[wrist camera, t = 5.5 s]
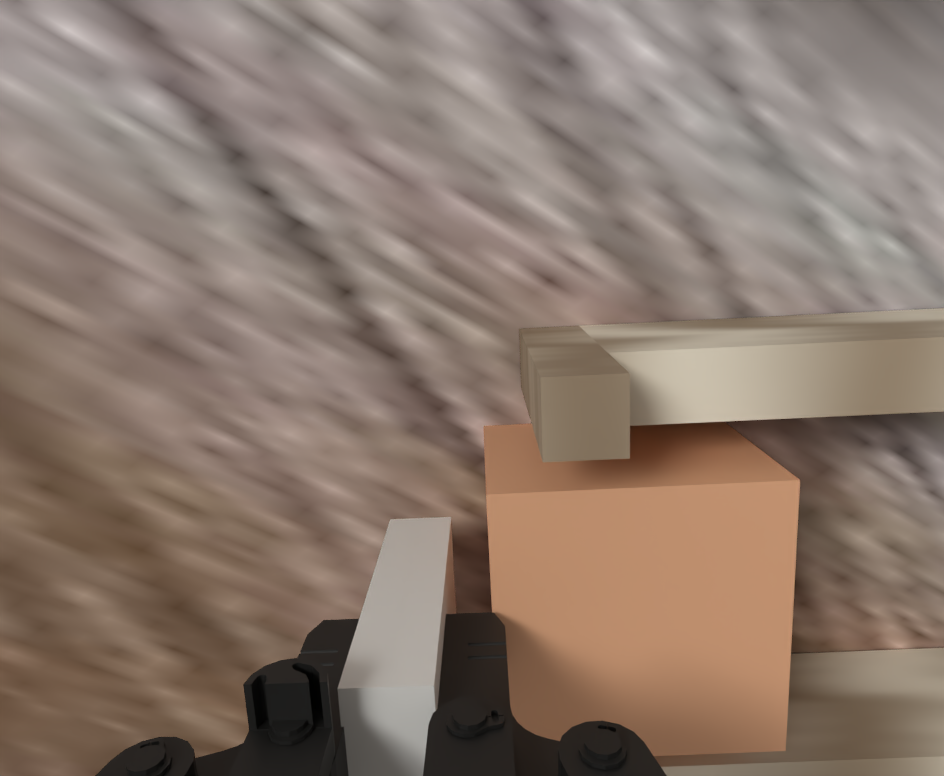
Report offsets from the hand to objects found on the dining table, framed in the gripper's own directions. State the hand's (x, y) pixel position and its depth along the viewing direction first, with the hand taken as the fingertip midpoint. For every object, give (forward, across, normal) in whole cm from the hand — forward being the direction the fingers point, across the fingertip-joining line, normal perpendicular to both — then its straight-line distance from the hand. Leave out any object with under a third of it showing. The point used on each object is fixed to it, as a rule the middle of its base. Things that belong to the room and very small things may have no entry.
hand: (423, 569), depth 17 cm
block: (+2, +5, 0) cm, 5 cm away
